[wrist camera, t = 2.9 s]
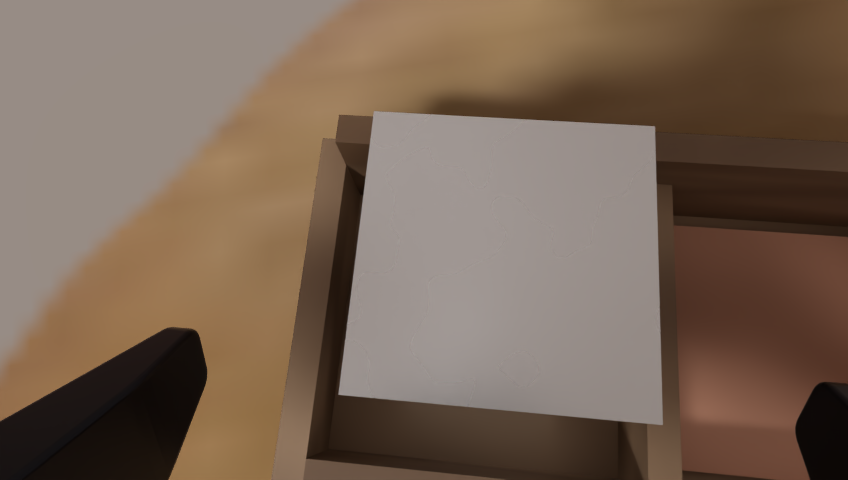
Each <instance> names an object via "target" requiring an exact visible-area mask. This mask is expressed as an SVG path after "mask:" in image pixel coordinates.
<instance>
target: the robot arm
mask: <svg viewBox="0 0 848 480" xmlns="http://www.w3.org/2000/svg"><path fill="white" fill-rule="evenodd" d="M206 380H207V366H206V362H205V358H204V354H203V349H202V345H201V341H200V337H199V334H198V333H197V331H195V330H193V329H190V328H178V327H169V328H166V329H164V330H162V331H160V332H158V333H157V334H155V335H153V336H151V337H149V338H148V339H146V340H144V341H142V342H141V343H139V344H137V345H135V346H133V347H132V348H130V349H128V350H126V351H125V352H123V353H121V354H119V355H117V356H116V357H114V358H112V359H110V360H109V361H107V362H105V363H103V364H101V365H100V366H98V367H96V368H94V369H93V370H91V371H89V372H87V373H85V374H84V375H82V376H80V377H78V378H77V379H75V380H73V381H71V382H69V383H68V384H66V385H64V386H62V387H60V388H59V389H57V390H55V391H53V392H52V393H50V394H48V395H46V396H44V397H43V398H41V399H39V400H37V401H36V402H34V403H32V404H30V405H28V406H27V407H25V408H23V409H21V410H20V411H18V412H16V413H14V414H12V415H11V416H9V417H7V418H5V419H3V420H2V421H0V480H168V479H169V477H170V475H171V472H172V470H173V468H174V465H175V463H176V460H177V458H178V455H179V452H180V450H181V447H182V445H183V442H184V439H185V437H186V434H187V432H188V429H189V426H190V424H191V421H192V419H193V416H194V413H195V411H196V408H197V405H198V403H199V400H200V398H201V395H202V392H203V390H204V387H205V384H206ZM795 434H796V439H797V443H798V446H799V449H800V452H801V454H802V457H803V460H804V463H805V466H806V469H807V472H808V475H809V478H810V480H848V383H836V382H821V383H819V384H817V385H816V386H815V387H814V389H813V390H812V392H811V394H810V396H809V398H808V400H807V402H806V404H805V406H804V408H803V409H802V411H801V413H800V415H799V417H798V419H797V422H796V426H795Z"/></svg>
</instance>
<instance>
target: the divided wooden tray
mask: <svg viewBox="0 0 848 480" xmlns="http://www.w3.org/2000/svg"><path fill="white" fill-rule="evenodd" d="M372 123H373V117H371V116H353V115H339V120H338V127H337V133H336V139H327V138H323V141H322V147H321V154H320V161H319V167H318V174H317V181H316V187H315V194H314V200H313V207H312V214H311V220H310V227H309V234H308V240H307V247H306V253H305V260H304V267H303V273H302V280H301V287H300V293H299V300H298V306H297V313H296V320H295V326H294V333H293V340H292V346H291V353H290V360H289V366H288V373H287V379H286V386H285V393H284V399H283V406H282V413H281V419H280V426H279V432H278V439H277V446H276V452H275V459H274V466H273V472H272V479H271V480H810V478H809V475H808V472H807V469H806V466H805V463H804V460H803V457H802V454H801V452H800V449H799V446H798V443H797V439H796V434H795V426H796V422H797V419H798V417H799V415H800V413H801V411H802V409H803V408H804V406H805V404H806V402H807V400H808V398H809V396H810V394H811V392H812V390H813V389H814V387H815V386H816V385H817V384H819V383H821V382H836V383H848V142H830V141H812V140H794V139H775V138H757V137H739V136H720V135H702V134H683V133H665V132H655V147H656V184H657V222H658V260H659V297H660V335H661V372H662V410H663V425H656V424H645V423H634V422H624V421H613V420H602V419H592V418H581V417H570V416H560V415H549V414H538V413H528V412H517V411H506V410H496V409H485V408H474V407H464V406H453V405H442V404H432V403H421V402H410V401H399V400H389V399H378V398H367V397H357V396H346V395H338V394H339V386H340V378H341V370H342V362H343V354H344V346H345V338H346V330H347V322H348V314H349V306H350V298H351V290H352V282H353V274H354V266H355V258H356V250H357V242H358V234H359V226H360V219H361V211H362V203H363V195H364V187H365V179H366V171H367V163H368V155H369V147H370V139H371V131H372Z"/></svg>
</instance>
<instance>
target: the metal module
mask: <svg viewBox="0 0 848 480" xmlns="http://www.w3.org/2000/svg"><path fill="white" fill-rule="evenodd" d="M338 395H346V396H357V397H367V398H378V399H389V400H399V401H410V402H421V403H432V404H442V405H453V406H464V407H474V408H485V409H496V410H506V411H517V412H528V413H538V414H549V415H560V416H570V417H581V418H592V419H602V420H613V421H624V422H634V423H645V424H656V425H663V410H662V372H661V335H660V297H659V260H658V222H657V184H656V147H655V126H639V125H620V124H602V123H583V122H564V121H546V120H527V119H508V118H490V117H471V116H452V115H434V114H415V113H397V112H378V111H374V115H373V123H372V131H371V139H370V147H369V155H368V163H367V171H366V179H365V187H364V195H363V203H362V211H361V219H360V226H359V234H358V242H357V250H356V258H355V266H354V274H353V282H352V290H351V298H350V306H349V314H348V322H347V330H346V338H345V346H344V354H343V362H342V370H341V378H340V386H339V394H338Z"/></svg>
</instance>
